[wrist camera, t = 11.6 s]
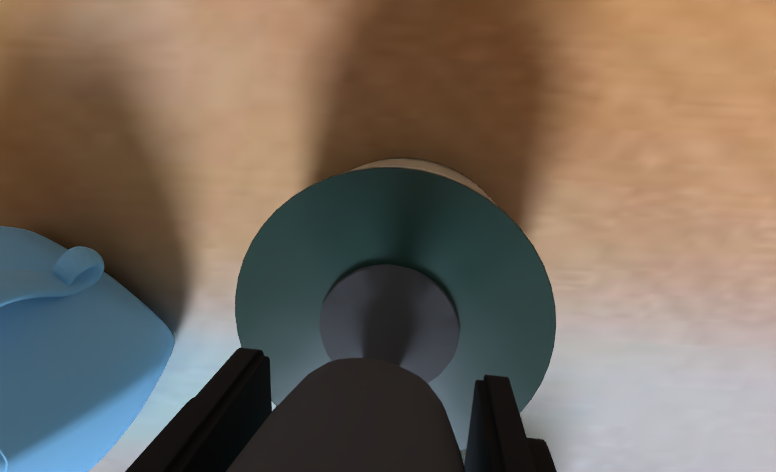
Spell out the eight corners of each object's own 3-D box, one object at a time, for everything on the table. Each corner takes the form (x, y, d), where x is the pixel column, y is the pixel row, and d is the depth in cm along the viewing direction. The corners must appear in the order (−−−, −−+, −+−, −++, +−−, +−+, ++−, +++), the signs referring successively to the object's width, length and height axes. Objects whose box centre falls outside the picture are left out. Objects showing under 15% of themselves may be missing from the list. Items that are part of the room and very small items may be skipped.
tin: (296, 146, 20) (225, 157, 13) (531, 160, 19) (585, 179, 12) (298, 348, 23) (242, 441, 16) (500, 370, 22) (529, 479, 15)
